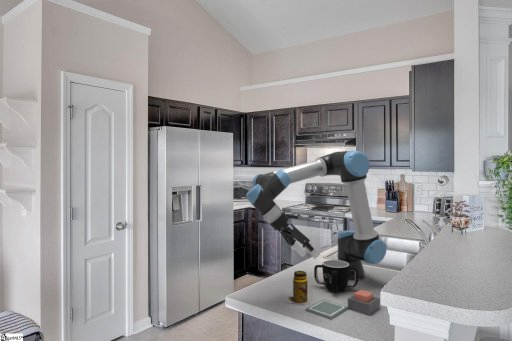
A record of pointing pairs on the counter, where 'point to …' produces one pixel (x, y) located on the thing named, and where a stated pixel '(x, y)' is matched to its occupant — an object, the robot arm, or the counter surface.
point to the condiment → (299, 288)
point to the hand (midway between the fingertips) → (310, 256)
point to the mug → (336, 275)
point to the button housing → (364, 305)
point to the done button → (363, 296)
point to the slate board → (326, 309)
